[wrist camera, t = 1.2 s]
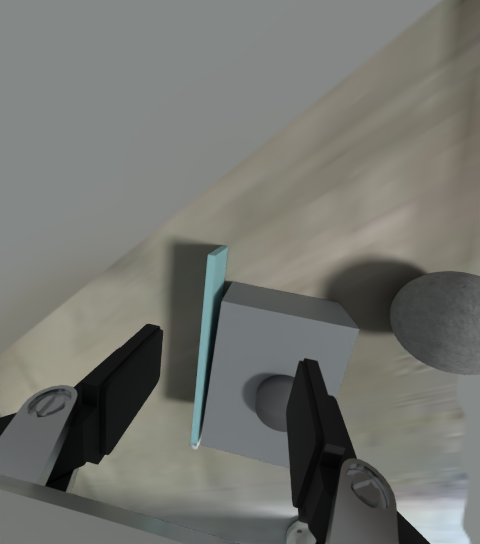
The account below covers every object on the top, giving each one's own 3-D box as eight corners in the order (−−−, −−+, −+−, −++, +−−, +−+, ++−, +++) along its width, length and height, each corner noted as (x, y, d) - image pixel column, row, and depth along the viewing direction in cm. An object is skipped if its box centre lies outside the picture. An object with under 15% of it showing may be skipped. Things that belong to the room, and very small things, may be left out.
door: (211, 406, 36) (197, 450, 29) (204, 405, 36) (188, 448, 29) (229, 246, 29) (217, 256, 22) (220, 245, 29) (205, 254, 22)
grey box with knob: (302, 422, 34) (312, 489, 26) (213, 401, 35) (196, 457, 27) (339, 302, 29) (366, 337, 21) (232, 281, 30) (218, 307, 22)
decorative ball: (451, 248, 26) (558, 268, 16) (474, 322, 27) (584, 380, 18) (362, 282, 28) (410, 317, 18) (389, 348, 30) (446, 413, 20)
